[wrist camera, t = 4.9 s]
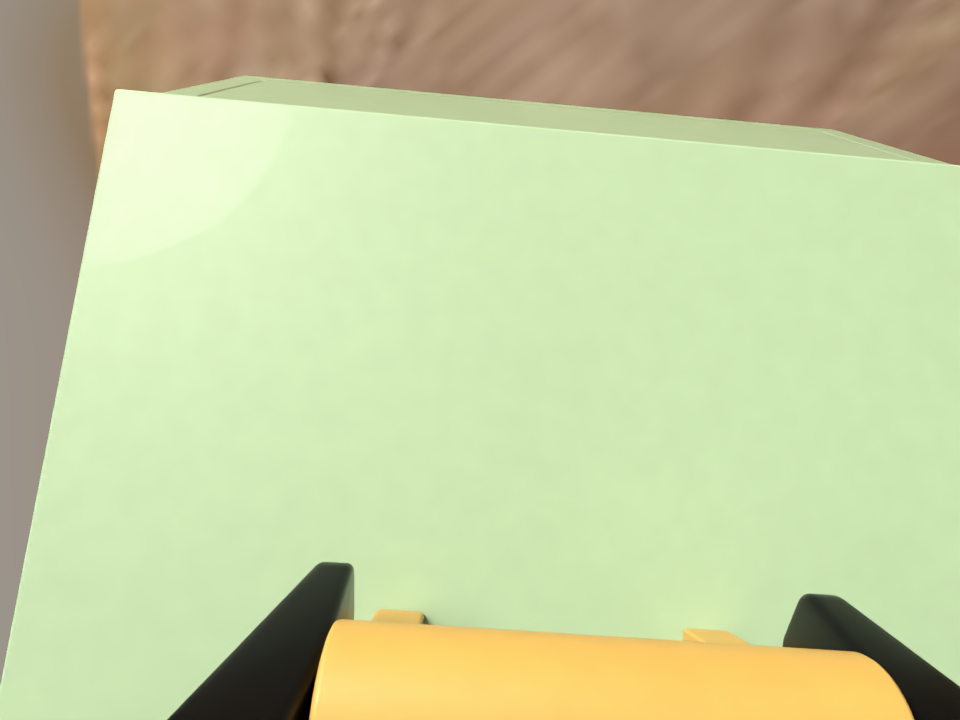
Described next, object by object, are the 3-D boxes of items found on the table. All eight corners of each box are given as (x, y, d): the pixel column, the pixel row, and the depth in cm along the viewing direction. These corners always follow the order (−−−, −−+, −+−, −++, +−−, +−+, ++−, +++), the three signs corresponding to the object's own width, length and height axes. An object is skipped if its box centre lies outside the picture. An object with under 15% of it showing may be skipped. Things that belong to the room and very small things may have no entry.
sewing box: (718, 487, 22) (786, 621, 17) (273, 454, 22) (210, 584, 17) (833, 129, 17) (985, 173, 12) (243, 75, 16) (135, 97, 11)
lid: (1046, 972, 9) (1569, 1407, 5) (-17, 924, 9) (-474, 1363, 4) (983, 187, 12) (1306, 11, 7) (134, 110, 11) (-72, -128, 7)
